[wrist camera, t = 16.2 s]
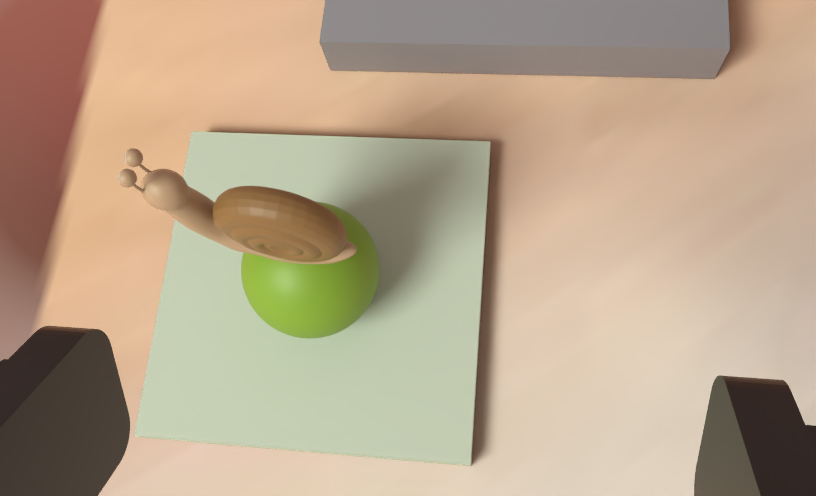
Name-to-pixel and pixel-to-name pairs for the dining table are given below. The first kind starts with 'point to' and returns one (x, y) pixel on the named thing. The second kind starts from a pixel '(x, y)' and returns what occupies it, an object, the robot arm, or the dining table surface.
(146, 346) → the dining table surface
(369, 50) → the gray square frame
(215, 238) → the snail figurine
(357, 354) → the green mat
